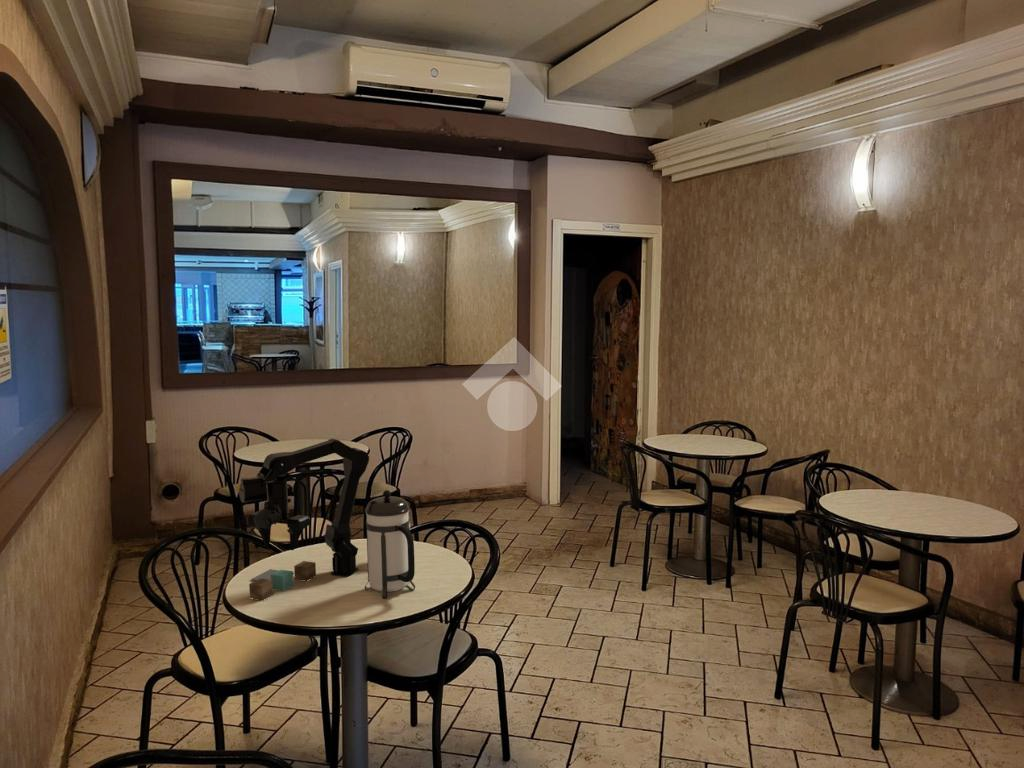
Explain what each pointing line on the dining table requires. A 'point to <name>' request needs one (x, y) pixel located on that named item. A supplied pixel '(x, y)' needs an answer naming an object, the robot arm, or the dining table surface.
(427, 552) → the dining table surface
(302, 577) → the walnut cube right
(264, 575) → the slate tile
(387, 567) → the coffee press
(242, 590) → the dining table surface
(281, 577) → the teal cube
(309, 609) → the dining table surface
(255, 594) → the walnut cube left
